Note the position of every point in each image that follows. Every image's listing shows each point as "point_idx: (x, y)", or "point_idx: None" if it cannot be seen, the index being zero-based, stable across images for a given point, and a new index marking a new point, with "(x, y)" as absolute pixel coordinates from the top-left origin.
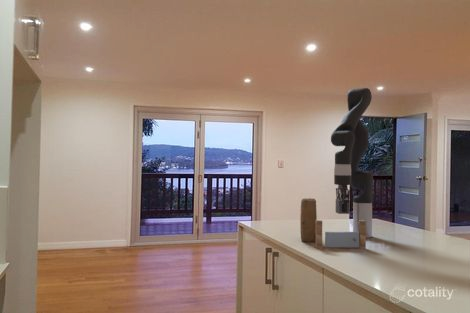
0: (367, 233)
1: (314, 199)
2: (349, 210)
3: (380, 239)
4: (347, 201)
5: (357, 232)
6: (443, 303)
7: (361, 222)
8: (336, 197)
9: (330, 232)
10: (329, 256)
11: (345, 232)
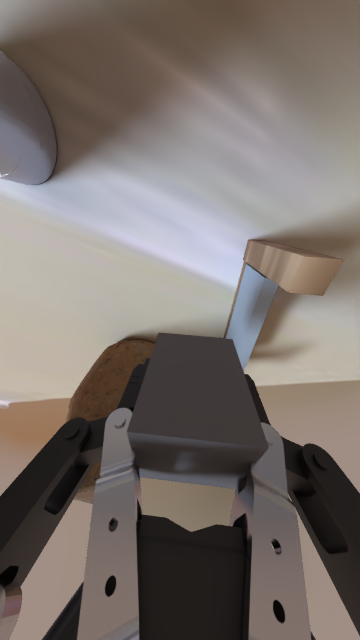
0: (30, 100)
1: (85, 490)
2: (237, 356)
3: (66, 20)
4: (327, 472)
5: (276, 285)
6: None
7: (322, 286)
8: (63, 477)
9: (245, 366)
10: (304, 360)
11: (260, 328)
